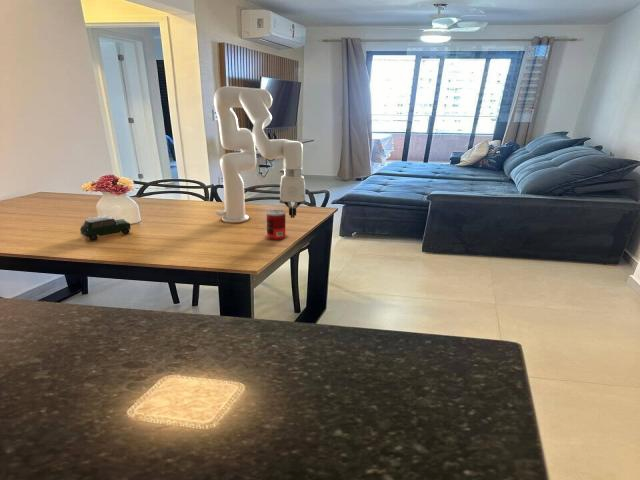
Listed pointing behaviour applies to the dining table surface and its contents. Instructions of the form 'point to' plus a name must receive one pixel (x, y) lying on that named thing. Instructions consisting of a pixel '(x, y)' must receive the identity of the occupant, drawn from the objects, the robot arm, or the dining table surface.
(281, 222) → the canned food
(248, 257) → the dining table surface
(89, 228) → the miniature car
